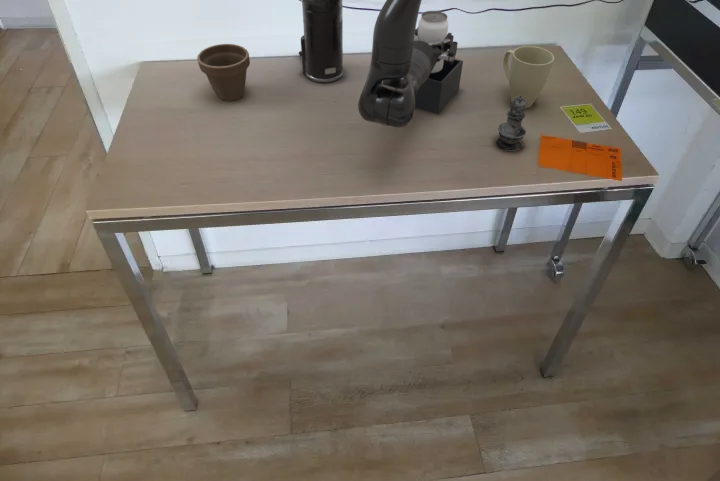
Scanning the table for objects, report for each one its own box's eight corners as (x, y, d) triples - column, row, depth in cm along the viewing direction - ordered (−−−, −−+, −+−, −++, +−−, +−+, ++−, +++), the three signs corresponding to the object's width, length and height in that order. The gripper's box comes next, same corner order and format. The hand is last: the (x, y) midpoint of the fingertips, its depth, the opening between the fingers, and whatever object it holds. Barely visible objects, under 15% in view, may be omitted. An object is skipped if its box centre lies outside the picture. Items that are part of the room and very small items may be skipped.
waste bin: (390, 99, 133) (392, 69, 127) (413, 77, 140) (416, 48, 135) (438, 114, 129) (442, 83, 123) (458, 90, 136) (463, 60, 131)
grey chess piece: (491, 136, 123) (502, 87, 114) (518, 135, 123) (530, 86, 115) (498, 152, 118) (510, 102, 110) (526, 151, 119) (539, 101, 110)
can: (448, 68, 129) (455, 16, 121) (429, 77, 126) (435, 24, 118) (427, 58, 133) (433, 7, 124) (408, 66, 129) (413, 15, 121)
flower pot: (195, 100, 131) (186, 60, 124) (221, 78, 138) (214, 39, 131) (238, 111, 128) (231, 71, 121) (262, 88, 136) (257, 48, 128)
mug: (543, 95, 135) (556, 47, 127) (538, 116, 129) (552, 67, 120) (498, 86, 138) (507, 40, 129) (491, 107, 131) (501, 59, 123)
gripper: (449, 55, 110) (468, 22, 122) (380, 42, 114) (405, 12, 125) (444, 90, 116) (463, 55, 127) (378, 76, 119) (402, 44, 130)
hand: (434, 34), depth 126 cm, fingers closed on can, 6 cm apart
